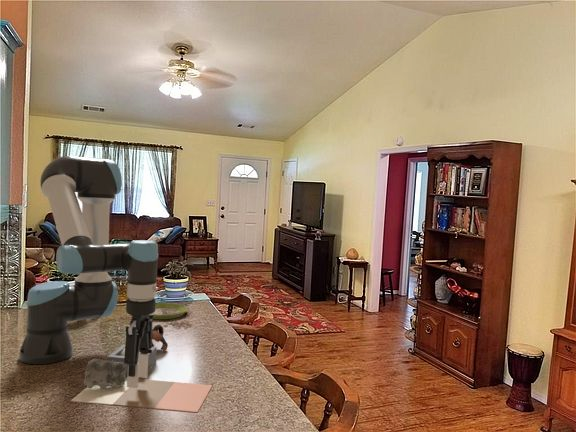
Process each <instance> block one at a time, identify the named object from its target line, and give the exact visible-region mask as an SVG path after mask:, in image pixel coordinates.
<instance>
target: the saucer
mask: <svg viewBox="0 0 576 432" xmlns="http://www.w3.org/2000/svg"><path fill="white" fill-rule="evenodd" d="M156 309H172V310H173V309H174V310H178V311H181V312H179V313H178V312H177V313H171V314H156V313H155V314H154V313H152V314H153V320H172V319H176V318H179V317H182V316H184V314H185V313H186V312H187V311H188V308H187V307H186V306H184V305H181V304H178V303H171V302H170V303H169V302H168V303H165V302H164V303H163V302H161V303H160V302H159V303H157V302H156V305H155V310H156Z"/></svg>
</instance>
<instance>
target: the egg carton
mask: <svg viewBox="0 0 576 432" xmlns="http://www.w3.org/2000/svg"><path fill="white" fill-rule="evenodd" d="M126 370H127V364H124V362H114V361H108V360H107V359H100V358H93V359H91V360H89V361H87V365H86V369H85V372H84V377H85V378H84V381H83V385H86V388H87V387H88V388H92V387H93V386H95V385H98V386H100V388H101V389H105V388H106V387H108V386H111V387H113V388H114V389H118V388H119V387H121V386H123V385H125V378H127V377H126V376H127V375H126Z"/></svg>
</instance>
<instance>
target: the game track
mask: <svg viewBox="0 0 576 432" xmlns="http://www.w3.org/2000/svg"><path fill="white" fill-rule="evenodd" d="M212 388H213V385H212V384H203V383H190V382H178V381H177V382H176V381H165V380H154V379H146V378H144V379H143V378H138V387H137V388H130V387H127V377H125V385H123V386H121V387H119V388H118V389H114V388H113V387H111V386H108V387H106V388H105V389H101V388H100V386H98V385H95V386H93V387H92V388H88V387H87V386H86V388H84V389H83V390H82V391H80V393H78V394H77V395H76V396H75V397H73V398H72V399H71V400H70V401H71V402H74V403H75V402H77V403H85V404H87V403H89V404H95V405H96V404H98V405H109V406H117V407H118V406H120V407H130V408H131V407H132V408H142V409H143V408H144V409H154V410H163V411H174V412H176V411H177V412H184V413H185V412H188V413H196V414H197V413H199V411H200V409H201V407H202V405H203V403H204V402H205V400H206V398H207V396H208V395H209V392H210V391H211V389H212Z"/></svg>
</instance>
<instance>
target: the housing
mask: <svg viewBox="0 0 576 432" xmlns="http://www.w3.org/2000/svg"><path fill="white" fill-rule="evenodd" d="M124 348H125V344H122V345H121V346H119V347H118V348H117V349H115V350H113V352H111V353H110V354H109V355H108V356H107V357H106V358H107V359H106V360H108V361H114V362H124V357H125V356H121V353H122V351H123V349H124ZM150 350H152V353H148V371H150V369H152V367H153V366H154V365H155V364H156V363H157V352H158V351H157V347H156V346H154V347H152V348H151V349H150ZM127 374H128V364H127V370H126V376H127Z"/></svg>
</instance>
